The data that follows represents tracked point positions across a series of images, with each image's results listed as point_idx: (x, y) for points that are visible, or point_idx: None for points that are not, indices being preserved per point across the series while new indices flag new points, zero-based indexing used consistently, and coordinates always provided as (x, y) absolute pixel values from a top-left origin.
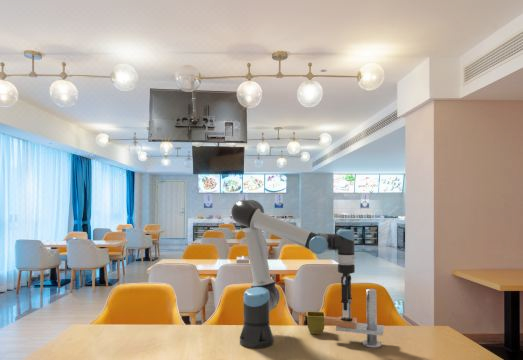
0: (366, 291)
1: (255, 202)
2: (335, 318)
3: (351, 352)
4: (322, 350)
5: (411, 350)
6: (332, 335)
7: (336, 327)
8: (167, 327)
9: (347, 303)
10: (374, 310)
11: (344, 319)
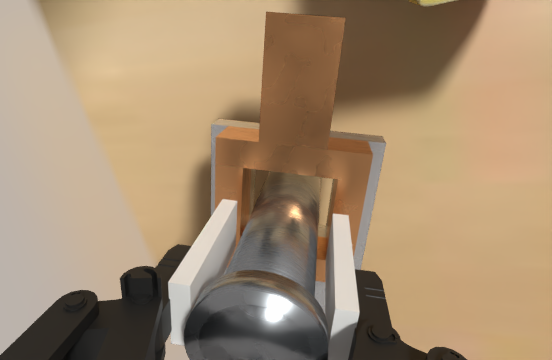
0: None
1: None
2: (288, 125)
3: (153, 182)
4: (121, 35)
5: None
6: (406, 65)
7: (211, 127)
8: None
9: (172, 328)
10: None
11: (256, 202)
